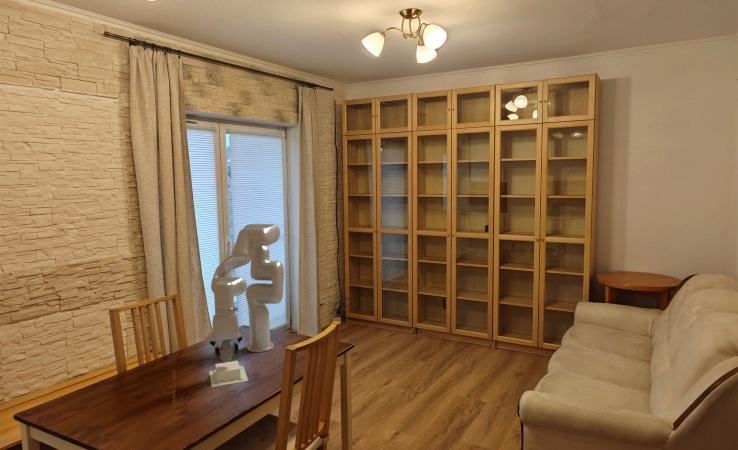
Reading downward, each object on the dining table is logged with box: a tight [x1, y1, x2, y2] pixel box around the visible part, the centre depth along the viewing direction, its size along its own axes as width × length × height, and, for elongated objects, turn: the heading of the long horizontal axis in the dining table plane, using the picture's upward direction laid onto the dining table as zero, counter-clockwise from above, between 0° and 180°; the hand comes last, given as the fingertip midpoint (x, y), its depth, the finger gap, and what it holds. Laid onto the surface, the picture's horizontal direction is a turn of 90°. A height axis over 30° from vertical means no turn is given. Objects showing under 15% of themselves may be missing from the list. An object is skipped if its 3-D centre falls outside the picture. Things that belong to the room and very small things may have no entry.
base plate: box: [208, 365, 249, 388], centre depth 195 cm, size 16×14×2 cm
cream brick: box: [214, 360, 241, 382], centre depth 195 cm, size 9×9×4 cm
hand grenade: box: [219, 339, 236, 363], centre depth 194 cm, size 6×6×11 cm
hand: (226, 354), depth 194 cm, fingers closed on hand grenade, 6 cm apart
